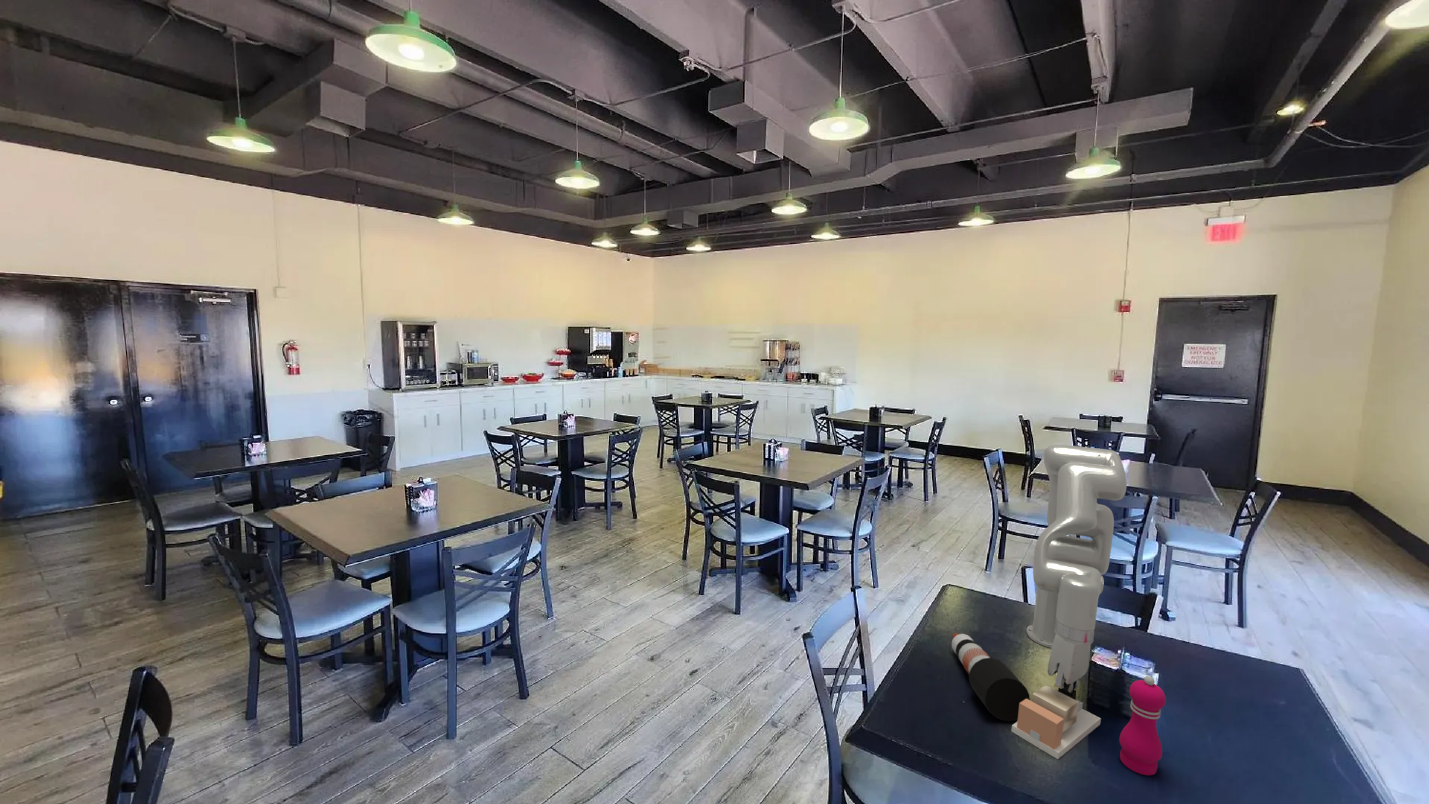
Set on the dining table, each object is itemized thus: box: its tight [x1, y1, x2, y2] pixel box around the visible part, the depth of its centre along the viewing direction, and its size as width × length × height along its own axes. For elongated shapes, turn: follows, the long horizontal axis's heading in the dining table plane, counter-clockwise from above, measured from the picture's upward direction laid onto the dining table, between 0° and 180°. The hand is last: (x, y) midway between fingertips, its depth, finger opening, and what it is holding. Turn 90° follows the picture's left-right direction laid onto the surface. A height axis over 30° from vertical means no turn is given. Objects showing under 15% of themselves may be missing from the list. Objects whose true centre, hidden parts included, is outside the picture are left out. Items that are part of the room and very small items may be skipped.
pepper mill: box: [1118, 675, 1167, 776], centre depth 120 cm, size 7×7×20 cm
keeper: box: [1031, 684, 1079, 732], centre depth 130 cm, size 6×7×5 cm
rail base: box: [1011, 699, 1102, 760], centre depth 131 cm, size 20×10×8 cm, turn 124°
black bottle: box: [951, 632, 1031, 722], centre depth 149 cm, size 10×34×10 cm, turn 174°
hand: (1065, 704), depth 133 cm, fingers closed
